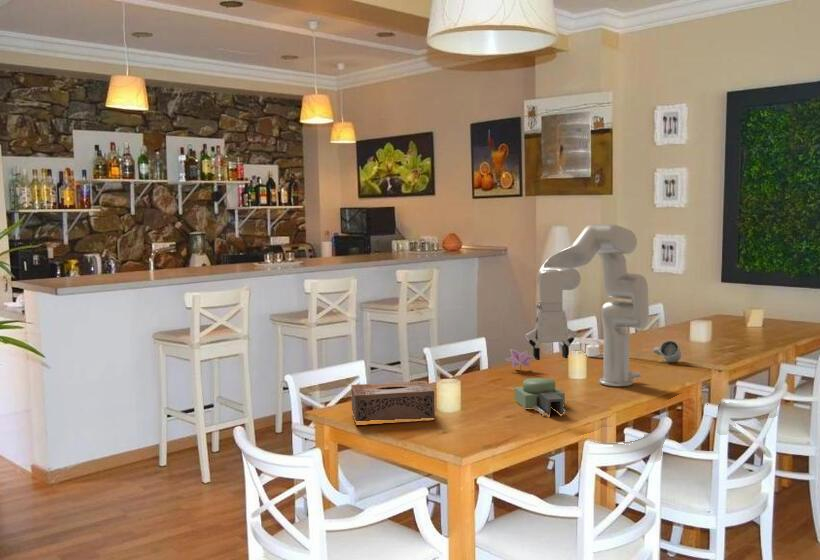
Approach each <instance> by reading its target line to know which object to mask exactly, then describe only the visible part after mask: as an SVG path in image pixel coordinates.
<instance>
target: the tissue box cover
mask: <svg viewBox="0 0 820 560" xmlns="http://www.w3.org/2000/svg"><path fill="white" fill-rule="evenodd" d="M435 409H436V408H435V390H434V389H433V388H432V386H431V385H430V383H429V382H428V381H427V380H419V381H399V382H397V381H396V382H381V383H378V382H377V383H362V384H351V412H352V411H353V414H354V417H355V420H356V421H370V420H395V419H421V418H436V416H435Z"/></svg>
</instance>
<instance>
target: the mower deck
mask: <svg viewBox="0 0 820 560" xmlns="http://www.w3.org/2000/svg"><path fill="white" fill-rule="evenodd" d="M546 392H554V393H556V394H557V395H558V396H560V397H561V398H563V405H565V402H566V399H565V398H566V396H565V394H566V393H565V392H564V391H562V390H560V389H559V388H558V387H556V381H555V380H554V379H552V378H551V379H550V378H543V377H531V378H526V379H524V380H523V382H522V386H516V387H514V401H515V400H516V401H517V402H518V403H519V404H521V405H522V406H523V407H524V408H533V407H534V408H535V409H536V410H538V411H539V412H540V413H542V414H545V412H544V411H543V410H542V409H540V408H539V393H546ZM518 403H517V404H518ZM519 404H518V405H519ZM565 406H566V405H565ZM563 412H564V413H566V414H567V410H566V409H565V408H563Z"/></svg>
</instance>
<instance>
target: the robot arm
mask: <svg viewBox="0 0 820 560" xmlns="http://www.w3.org/2000/svg"><path fill="white" fill-rule="evenodd" d="M637 240H638V238H637V235H636V233H634V231H633V230H630V229H627V228H626V227H623V226H622V225H621V226H620V225H617V224H613V223H612V224H611V223H610V224H605V223H603V224H597V223H596V224H589V225H587V226H585V227H584V228H583V229H582V230H581V232H580V233H579V235H578V236H577V237H576V239H575V240H574V241H573V243H572V244H571V245H570V246H569V247H567V248H564V249H561V250H560V251H558V252H557V253H554V254H552V255H551V256H549V257H548V258H546V260H545V262H544V263H543V264H542V266H541V267H540V269H539V270H538V273H537V282H538V283H537V284H538V287H539V289H538V290H539V291H538V294H539V296H538V297H539V298H538V300H539V301H538V303H537V304H535V305H534V307H535V309H537V312H536V319H535V325H534V327H535V328H534V329H533V330H531V331H529V332H527V333H526V334H525V335H524V336H525V338H526V340H527V343H528V344H529V345H531V346H532V347H533V351H532V352H533V355H532V356H534V357H535V359H534V360H536V361H540V360H541V359H540V357H541V355H540V354H541V353H540V351H541V350H540V348H539V346H540V345H541V344H542V343H543V344H544V343H545V344H546V343H562V344H563V345H562V347H561V350H562V351H561V353H562V354H561V355H562V358H565V359H568V358H569V357H568V356H569V354H570V353H569V346H570V344H571V343H572V342H573V341H574V338H576V335H577V332H576V331H574V330H572V329H570V328H568V321H567V320H568V319H567V314H566V311H565V310H563V307H564V306H563V301H564V299H563V291H573V290H575V289H577V288H578V287H579V285H580V283H581V281H582V280H581V278H582V277H581V274H580V272H579V271H578V270H577V269H576V268H579V267H582V266H585V265H588V264H589V263H590V262H592V259H594V257H595V255H596V254H597V255H598V256H599V258H600V259H601V262H602V272H603V273H602V274H603V276H602V277H603V287H604V288H603V290H604V294H605V296H606V297H609V298H613V299H622V300H609V301H606V302H605V303H604V304H603V305H602V306H601V310H600V315H601V316H600V317H601V321H602V329H603V340H604V345H603V354H604V355H603V356H604V357H602V358H603V366H602V367H603V369H602V371H603V372H602V373H603V375H602V377H600V378H598V379H599V380H598V382H599V384H602V385H603V386H607V387H609V386H610V387H628V386H632V385H633V384H634V380H633V379H634V378H636V379H637V378H638V379H639V378H642V372H635V371H631V370H630V335H629V333H628V331H627V329H626V328H635V329H643V328H645V327H646V326H647V324H648V323H649V318H650V317H649V315H650V313H649V312H650V311H649V310H650V308H649V307H650V305H649V286H648V282H647V281H648V280H647V279H646V278H645V276H644V275H642V274H640V273H639V274H638V273H628V269H627V260H626V256H625V255H626V254H627V255H629V254H631V253H633V252H634V251H635V249H636V248H637V246H638V245H637V244H638V241H637ZM623 299H624V300H631V301H623ZM569 335H570V336H569ZM532 337H535V340H534V341H533V338H532Z"/></svg>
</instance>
